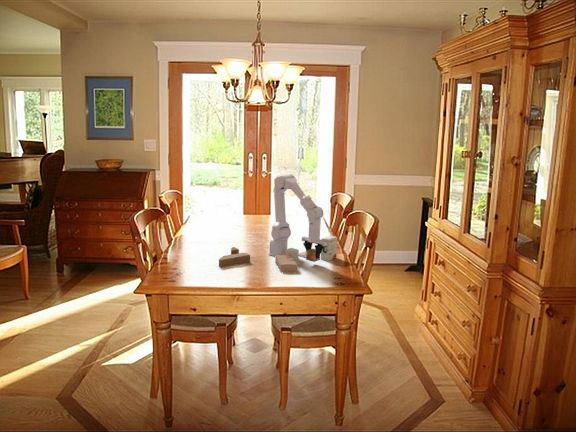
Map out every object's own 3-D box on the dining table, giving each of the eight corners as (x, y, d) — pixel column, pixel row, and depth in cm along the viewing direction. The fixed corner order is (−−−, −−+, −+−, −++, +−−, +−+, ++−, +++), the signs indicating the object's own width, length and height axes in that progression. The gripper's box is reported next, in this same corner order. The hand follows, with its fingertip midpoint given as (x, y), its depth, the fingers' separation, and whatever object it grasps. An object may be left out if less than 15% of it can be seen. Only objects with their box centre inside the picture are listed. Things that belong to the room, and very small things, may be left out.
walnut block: (306, 259, 252) (306, 250, 251) (312, 257, 256) (312, 248, 254) (314, 261, 249) (314, 252, 248) (320, 259, 252) (320, 250, 251)
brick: (297, 272, 241) (297, 263, 240) (280, 273, 239) (280, 264, 238) (290, 262, 257) (291, 254, 256) (274, 263, 255) (275, 254, 254)
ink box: (329, 256, 269) (330, 235, 267) (336, 258, 266) (337, 236, 264) (320, 259, 263) (321, 238, 260) (327, 261, 260) (328, 239, 257)
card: (295, 255, 269) (295, 254, 269) (306, 251, 276) (306, 251, 276) (305, 257, 264) (305, 257, 264) (316, 254, 272) (316, 253, 272)
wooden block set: (252, 252, 253) (220, 257, 243) (252, 263, 254) (220, 268, 244) (235, 244, 266) (205, 249, 256) (235, 255, 268) (205, 260, 257)
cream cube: (285, 258, 262) (285, 249, 261) (291, 256, 266) (291, 247, 265) (292, 260, 259) (292, 251, 258) (298, 258, 263) (298, 249, 262)
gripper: (298, 229, 250) (297, 255, 253) (321, 235, 241) (320, 261, 244) (306, 227, 256) (305, 252, 259) (329, 232, 247) (328, 258, 250)
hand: (313, 257), depth 252 cm, fingers closed on walnut block, 5 cm apart
